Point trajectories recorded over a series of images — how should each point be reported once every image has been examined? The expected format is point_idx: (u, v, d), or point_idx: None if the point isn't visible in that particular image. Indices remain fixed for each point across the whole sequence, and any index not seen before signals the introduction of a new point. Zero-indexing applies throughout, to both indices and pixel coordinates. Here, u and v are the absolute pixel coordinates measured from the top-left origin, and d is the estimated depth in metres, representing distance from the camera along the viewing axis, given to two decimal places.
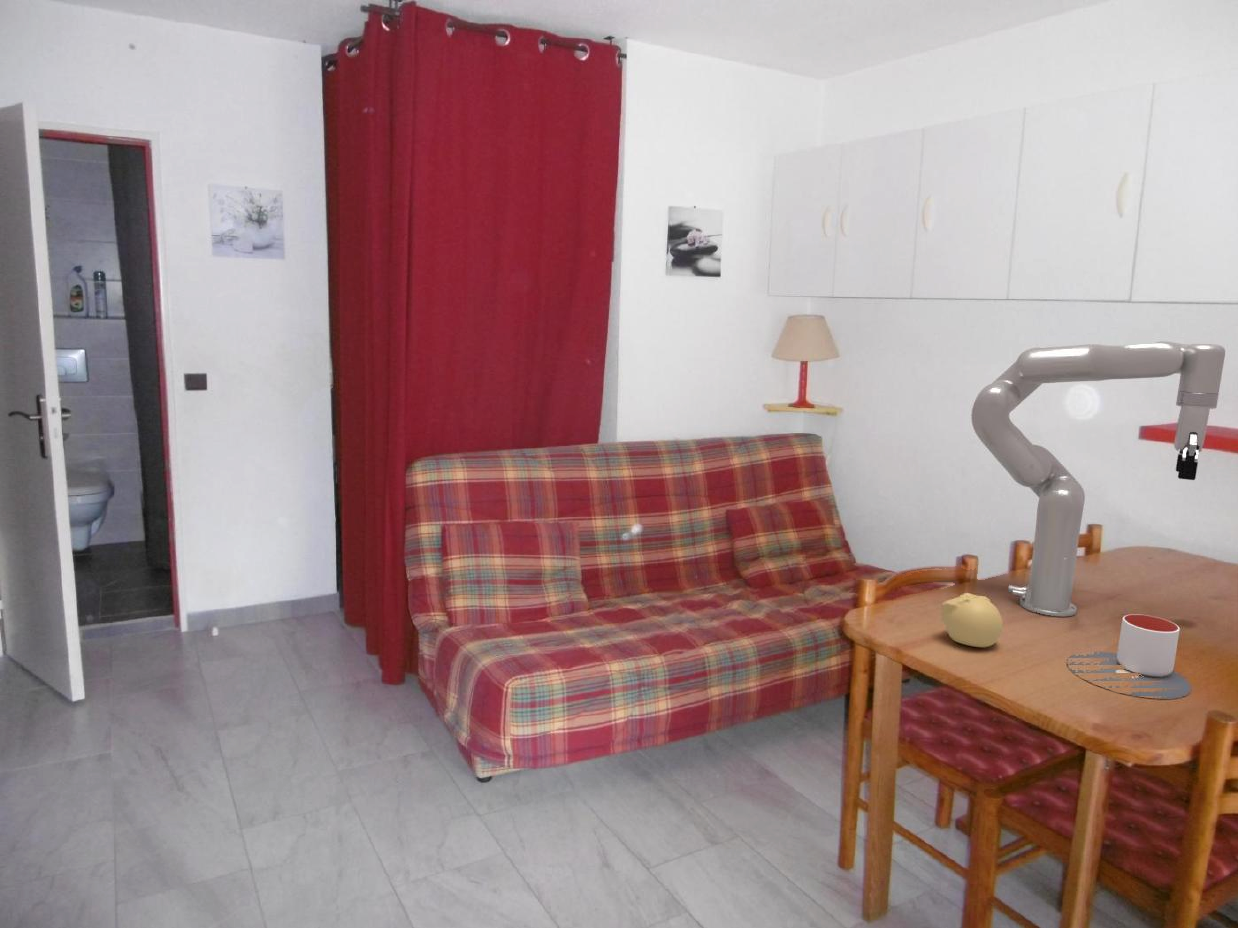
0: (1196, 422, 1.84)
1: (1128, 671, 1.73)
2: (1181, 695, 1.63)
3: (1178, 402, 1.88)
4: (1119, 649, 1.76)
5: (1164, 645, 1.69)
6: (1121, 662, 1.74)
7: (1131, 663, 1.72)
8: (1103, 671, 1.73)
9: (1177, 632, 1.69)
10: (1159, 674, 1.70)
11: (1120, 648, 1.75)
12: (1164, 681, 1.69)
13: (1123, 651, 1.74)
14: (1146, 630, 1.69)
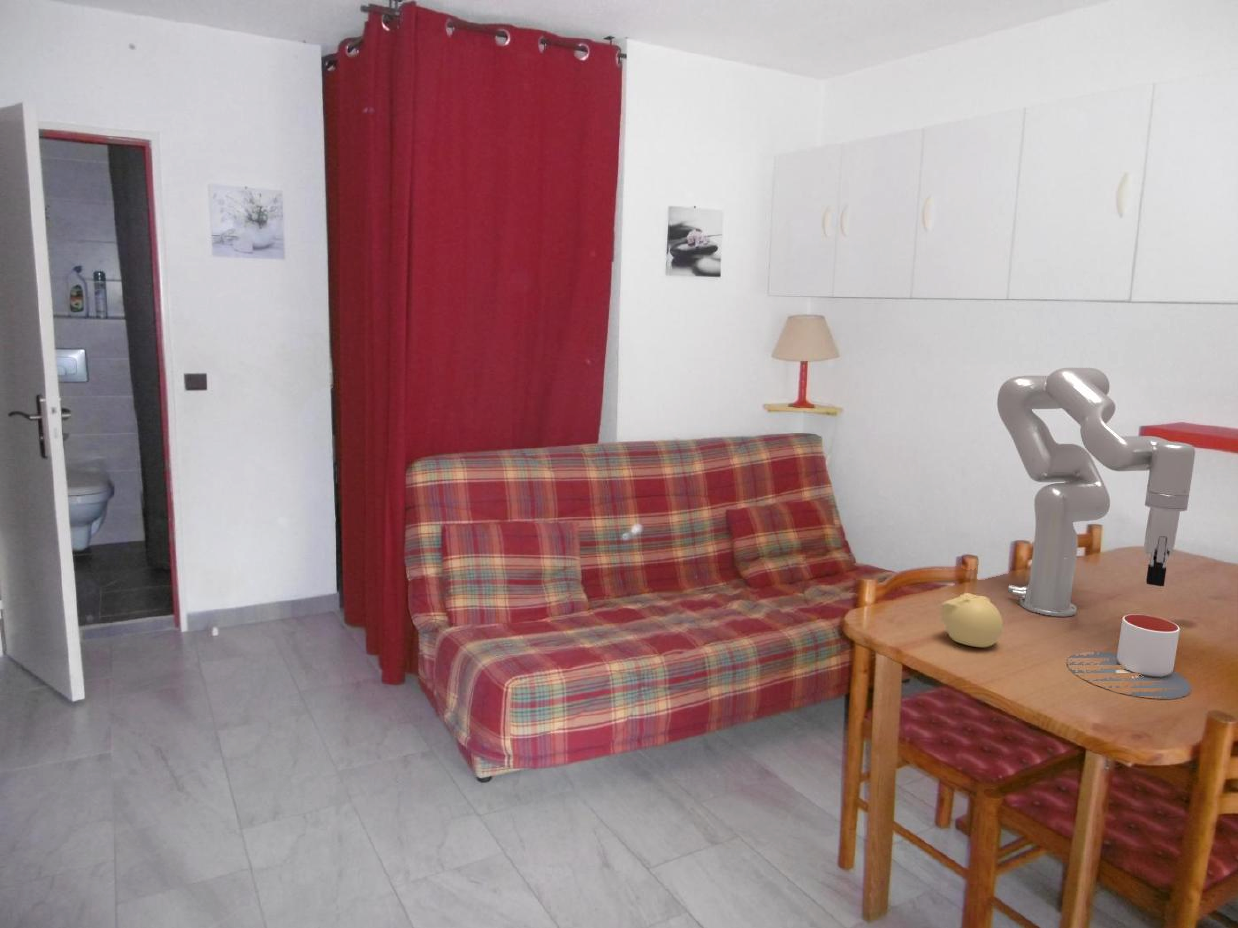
0: (1165, 526, 1.74)
1: (1128, 671, 1.73)
2: (1181, 695, 1.63)
3: (1147, 502, 1.78)
4: (1119, 649, 1.76)
5: (1165, 645, 1.69)
6: (1121, 662, 1.74)
7: (1131, 663, 1.72)
8: (1103, 671, 1.73)
9: (1177, 632, 1.69)
10: (1159, 674, 1.70)
11: (1120, 648, 1.75)
12: (1164, 681, 1.69)
13: (1123, 651, 1.74)
14: (1146, 630, 1.69)
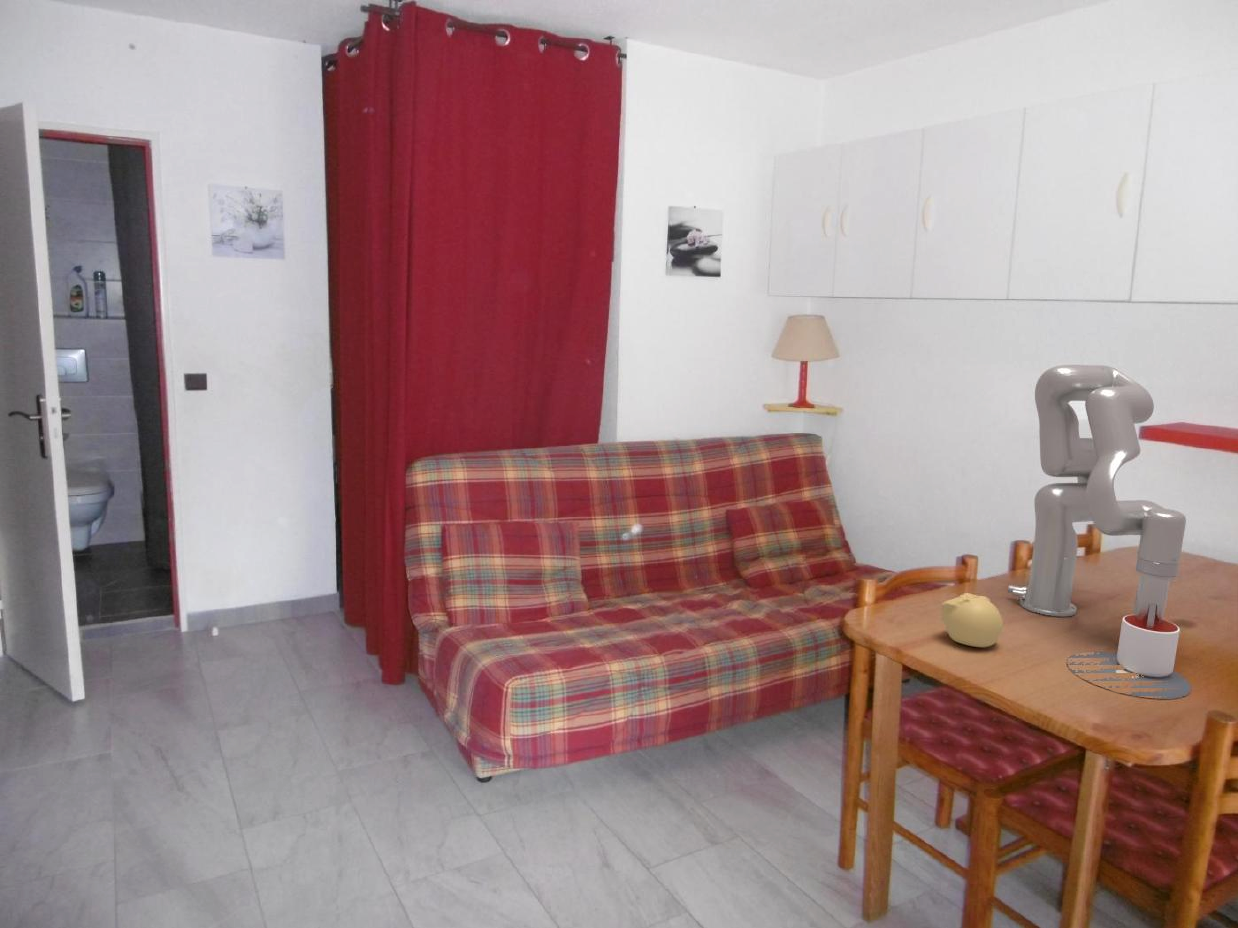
0: (1156, 594, 1.74)
1: (1128, 671, 1.73)
2: (1181, 695, 1.63)
3: (1137, 569, 1.78)
4: (1119, 650, 1.75)
5: (1165, 646, 1.68)
6: (1121, 663, 1.74)
7: (1131, 664, 1.72)
8: (1103, 671, 1.73)
9: (1177, 633, 1.69)
10: (1159, 675, 1.70)
11: (1120, 649, 1.75)
12: (1164, 681, 1.69)
13: (1123, 652, 1.74)
14: (1146, 631, 1.69)
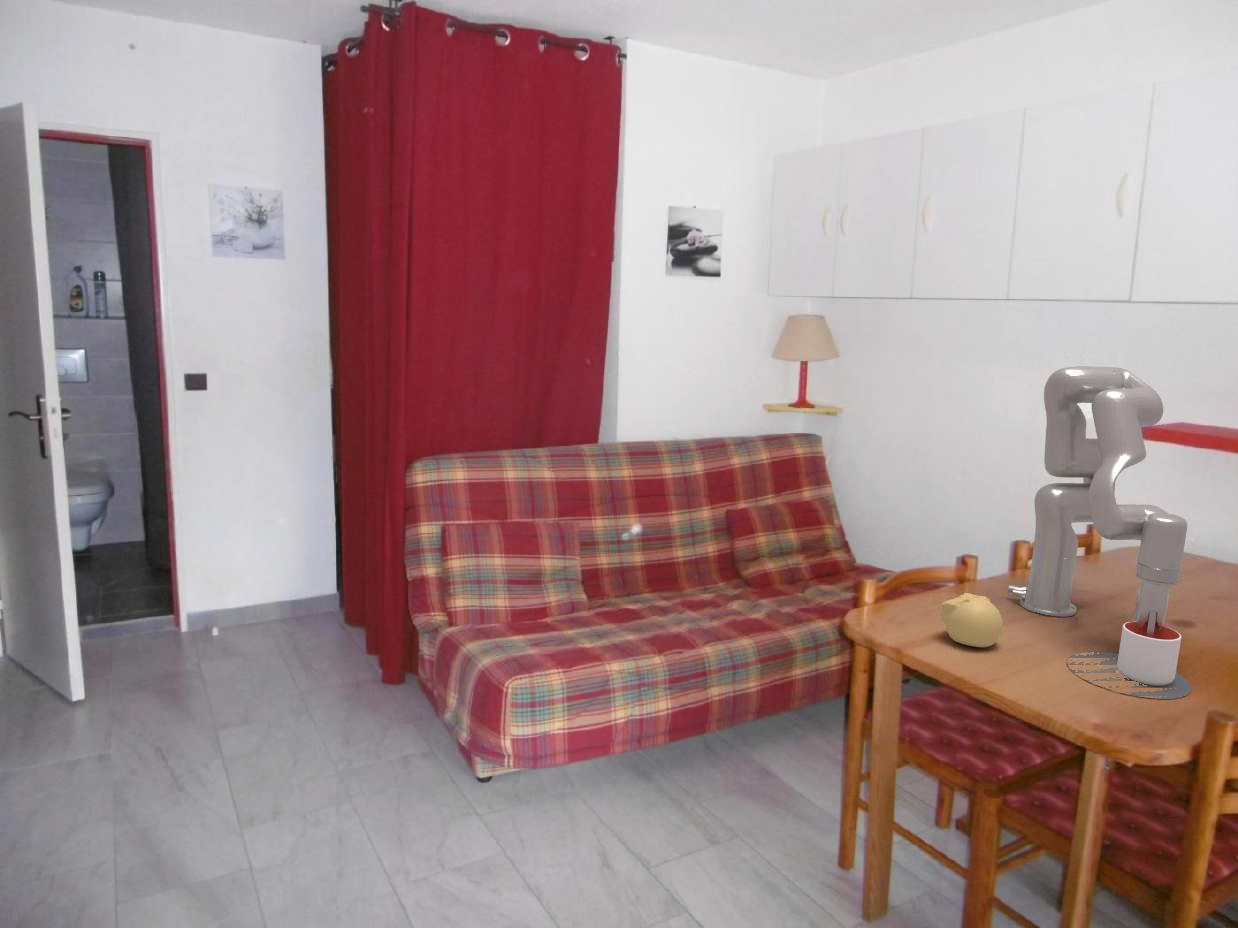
0: (1156, 600, 1.71)
1: None
2: (1181, 695, 1.63)
3: (1138, 574, 1.75)
4: (1120, 658, 1.71)
5: (1167, 653, 1.65)
6: (1122, 671, 1.70)
7: (1133, 672, 1.68)
8: (1103, 671, 1.73)
9: (1179, 640, 1.65)
10: (1161, 683, 1.66)
11: (1121, 657, 1.71)
12: None
13: (1124, 660, 1.70)
14: (1148, 638, 1.65)
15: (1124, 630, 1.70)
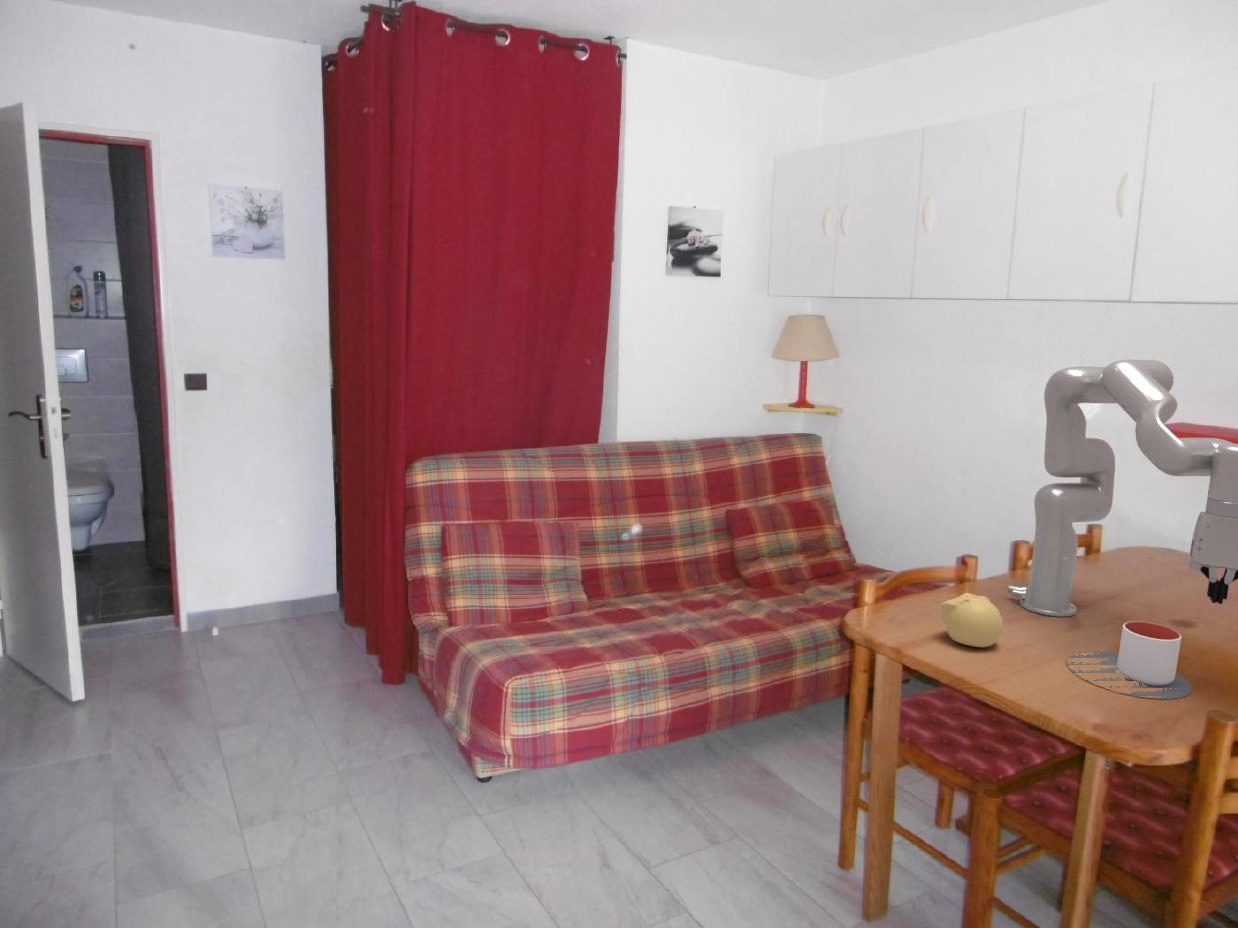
0: (1196, 528, 1.63)
1: None
2: (1181, 695, 1.63)
3: None
4: (1120, 657, 1.71)
5: (1167, 653, 1.65)
6: (1122, 671, 1.70)
7: (1133, 672, 1.68)
8: (1103, 671, 1.73)
9: (1179, 640, 1.65)
10: (1161, 683, 1.66)
11: (1121, 657, 1.71)
12: None
13: (1124, 660, 1.70)
14: (1148, 638, 1.65)
15: (1124, 630, 1.70)
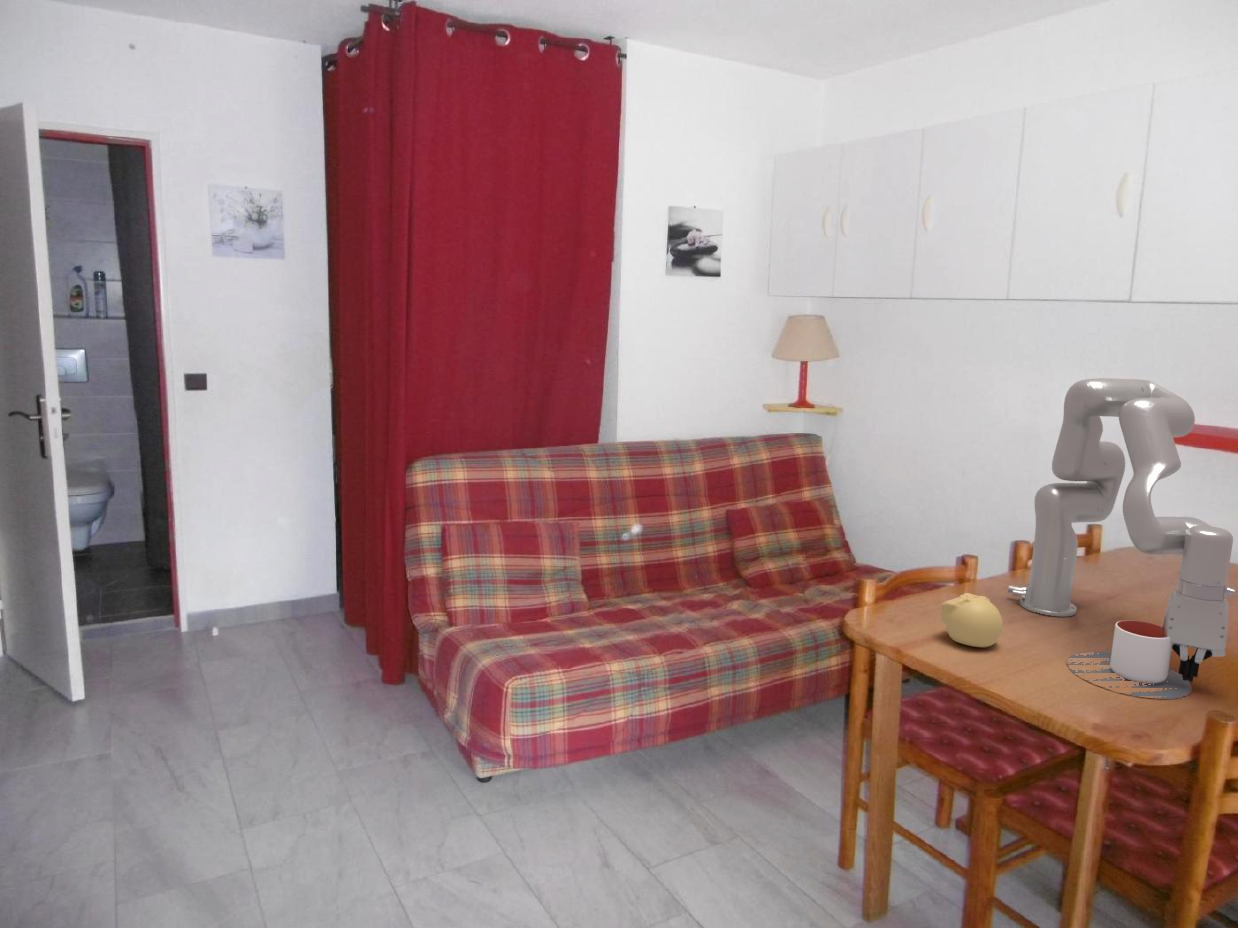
0: (1168, 607, 1.66)
1: None
2: (1181, 695, 1.63)
3: None
4: (1112, 655, 1.72)
5: (1158, 651, 1.65)
6: (1114, 669, 1.71)
7: (1124, 670, 1.69)
8: (1103, 671, 1.73)
9: None
10: (1152, 681, 1.66)
11: (1113, 654, 1.72)
12: (1164, 681, 1.69)
13: (1115, 658, 1.70)
14: (1139, 636, 1.66)
15: (1116, 628, 1.71)
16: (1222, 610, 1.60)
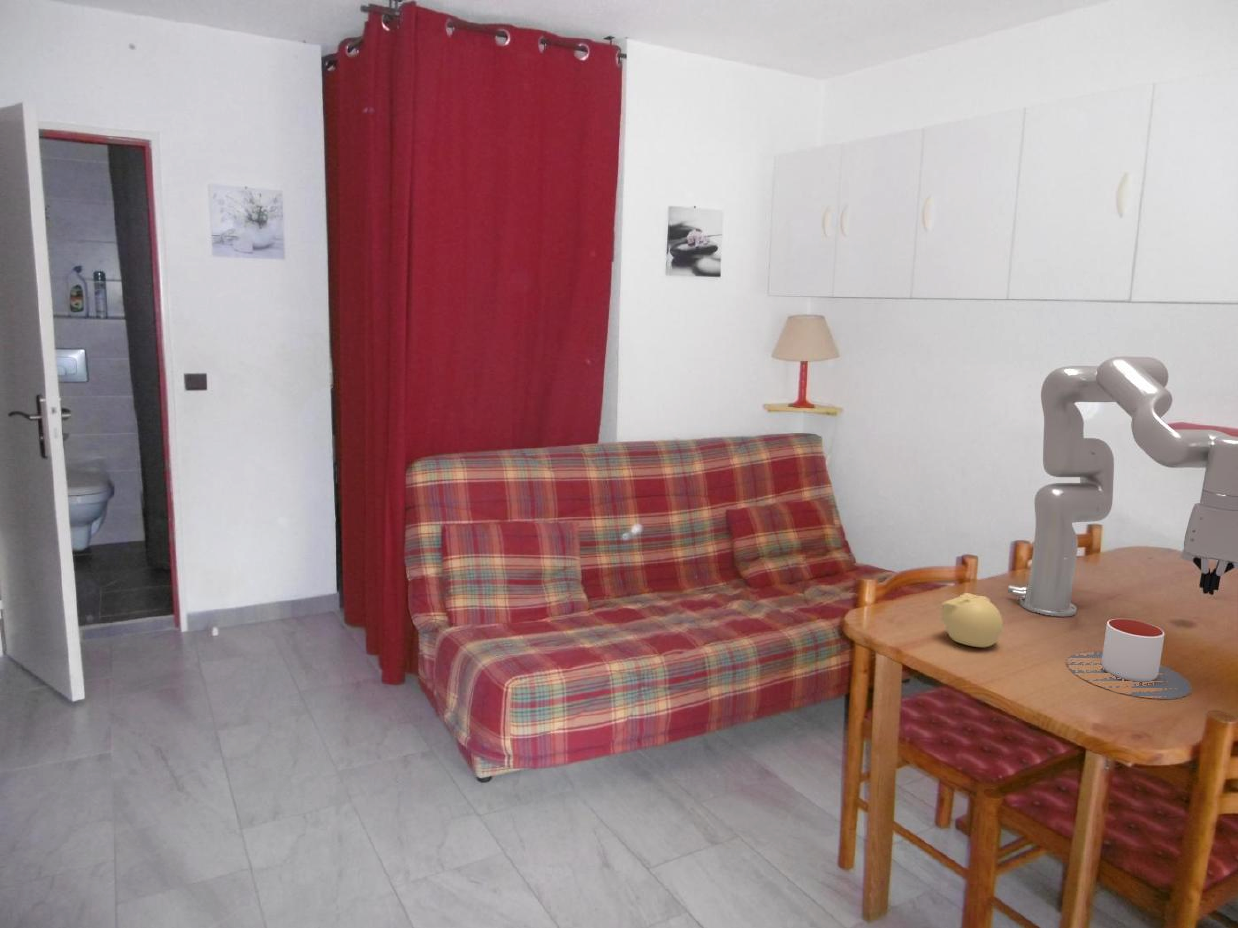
0: (1190, 519, 1.64)
1: None
2: (1181, 695, 1.63)
3: None
4: (1103, 653, 1.73)
5: (1147, 650, 1.66)
6: (1104, 667, 1.72)
7: (1114, 668, 1.70)
8: (1103, 671, 1.73)
9: (1161, 637, 1.66)
10: (1142, 679, 1.67)
11: (1104, 652, 1.73)
12: (1164, 681, 1.69)
13: (1106, 656, 1.72)
14: (1128, 634, 1.67)
15: (1107, 626, 1.72)
16: None
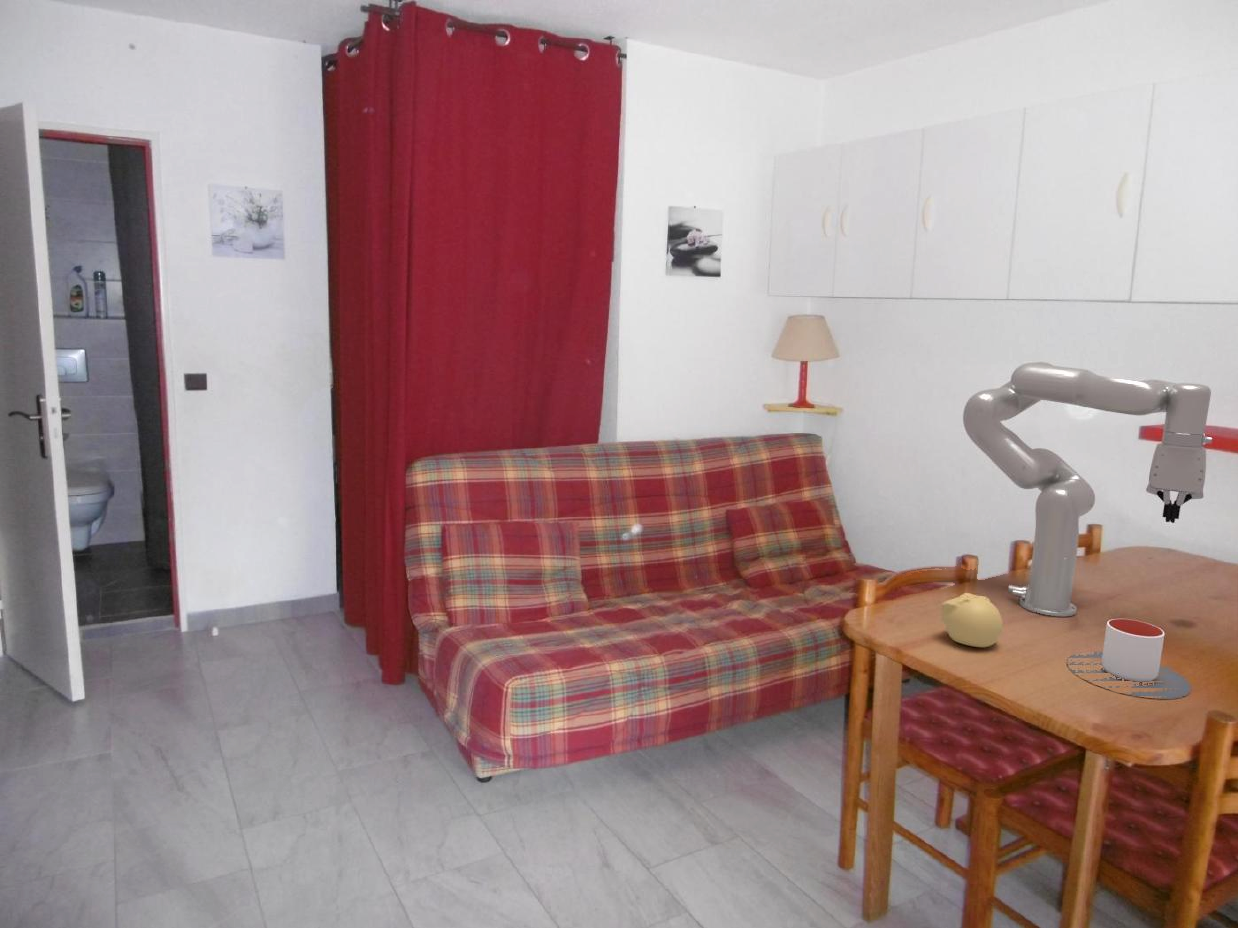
0: (1153, 457, 1.88)
1: None
2: (1181, 695, 1.63)
3: None
4: (1103, 653, 1.73)
5: (1147, 650, 1.66)
6: (1104, 667, 1.72)
7: (1114, 668, 1.70)
8: (1103, 671, 1.73)
9: (1161, 637, 1.66)
10: (1142, 679, 1.67)
11: (1104, 652, 1.73)
12: (1164, 681, 1.69)
13: (1106, 656, 1.72)
14: (1128, 634, 1.67)
15: (1107, 626, 1.72)
16: (1200, 456, 1.82)
